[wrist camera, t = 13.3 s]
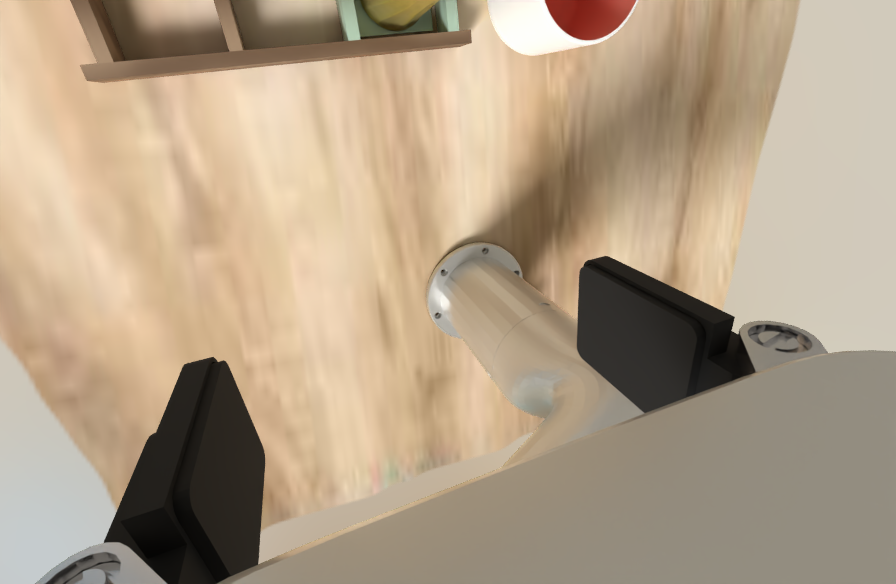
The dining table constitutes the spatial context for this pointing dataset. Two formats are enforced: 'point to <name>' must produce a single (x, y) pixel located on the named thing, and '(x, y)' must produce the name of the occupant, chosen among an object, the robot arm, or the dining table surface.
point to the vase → (396, 12)
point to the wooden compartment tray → (352, 26)
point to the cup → (557, 22)
